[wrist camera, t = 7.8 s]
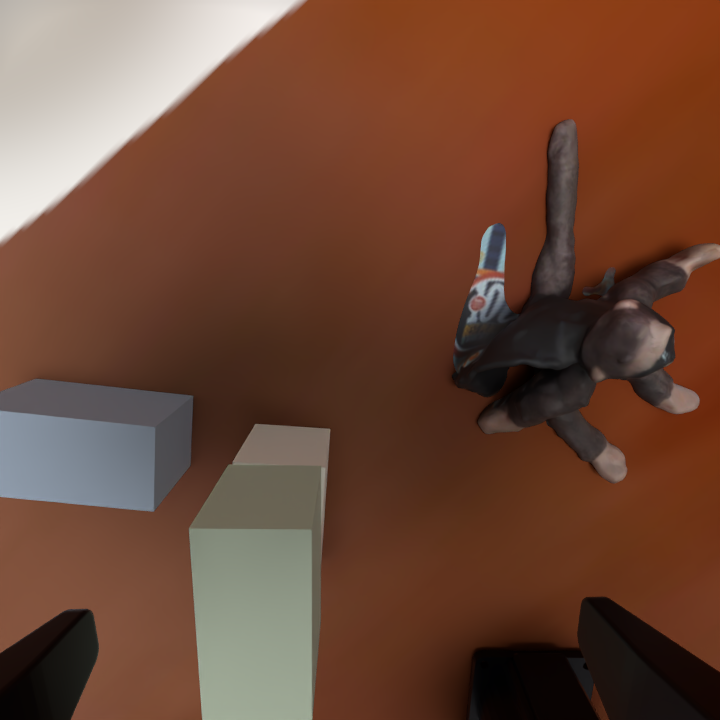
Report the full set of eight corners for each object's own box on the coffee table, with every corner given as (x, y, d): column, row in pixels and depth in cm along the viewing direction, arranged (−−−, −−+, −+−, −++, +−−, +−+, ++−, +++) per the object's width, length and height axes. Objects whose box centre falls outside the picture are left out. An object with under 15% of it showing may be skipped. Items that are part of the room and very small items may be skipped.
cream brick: (321, 558, 22) (315, 622, 18) (252, 554, 21) (230, 618, 18) (330, 428, 20) (325, 467, 16) (255, 423, 20) (232, 461, 16)
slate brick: (194, 394, 20) (155, 427, 16) (191, 464, 20) (153, 511, 16) (38, 377, 19) (-41, 406, 15) (41, 449, 20) (-33, 493, 16)
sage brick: (320, 621, 18) (311, 722, 14) (235, 621, 18) (202, 722, 14) (321, 465, 16) (311, 529, 12) (228, 464, 16) (188, 528, 12)
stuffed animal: (551, 526, 20) (479, 422, 12) (450, 387, 27) (358, 259, 19) (780, 384, 19) (883, 150, 10) (612, 275, 26) (591, 81, 17)
